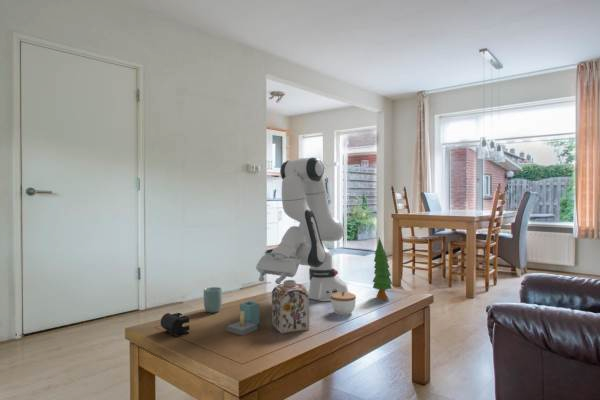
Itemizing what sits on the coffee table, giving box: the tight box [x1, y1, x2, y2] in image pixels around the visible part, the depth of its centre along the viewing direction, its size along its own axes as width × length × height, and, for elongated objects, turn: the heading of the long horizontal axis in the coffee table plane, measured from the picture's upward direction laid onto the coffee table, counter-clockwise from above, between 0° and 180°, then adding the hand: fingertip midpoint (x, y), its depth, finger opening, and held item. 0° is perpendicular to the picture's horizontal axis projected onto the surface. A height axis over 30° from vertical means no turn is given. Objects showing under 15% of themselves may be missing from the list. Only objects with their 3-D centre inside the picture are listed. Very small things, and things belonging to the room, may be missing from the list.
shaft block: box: [226, 311, 258, 336], centre depth 150 cm, size 8×8×7 cm
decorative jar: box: [271, 279, 311, 334], centre depth 153 cm, size 12×12×18 cm
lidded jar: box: [330, 291, 357, 316], centre depth 171 cm, size 11×11×9 cm
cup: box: [203, 286, 223, 314], centre depth 176 cm, size 8×8×10 cm
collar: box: [239, 300, 260, 325], centre depth 158 cm, size 5×5×8 cm
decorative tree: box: [372, 237, 393, 300], centre depth 195 cm, size 10×9×30 cm
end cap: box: [160, 312, 190, 337], centre depth 149 cm, size 10×7×7 cm
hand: (268, 281), depth 168 cm, fingers open, 8 cm apart
